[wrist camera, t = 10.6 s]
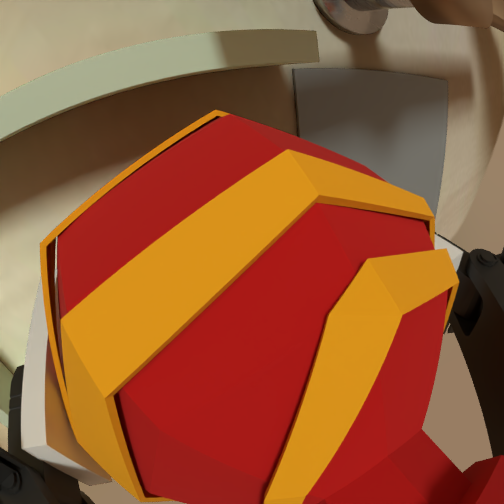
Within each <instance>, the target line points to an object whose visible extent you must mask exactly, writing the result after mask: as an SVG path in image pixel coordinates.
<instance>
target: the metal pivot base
mask: <svg viewBox="0 0 504 504" xmlns="http://www.w3.org/2000/svg"><path fill="white" fill-rule="evenodd" d="M314 2H315V4H316V6H317V7H318V9H319V10H320V12H321V13H322V14H323V15H324V17H325V18H326V19H327V20H328V21H329V22H330V23H332V24H333V25H334V26H336V27H337V28H339V29H340V30H342V31H344V32H347V33H350V34H357V35H359V34H371V33H374V32H376V31H378V30H379V29H381V28H382V26H383V25H384V23H385V22H386V19H387V15H388V9H391V8H407V7H414V6H413V5H412V3H411V2H410V0H314Z"/></svg>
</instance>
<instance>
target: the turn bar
mask: <svg viewBox="0 0 504 504" xmlns="http://www.w3.org/2000/svg"><path fill="white" fill-rule="evenodd" d="M410 2H411V3H412V5H413V6H414V7H415V9H416V10H417V11H418V12H419V13H420V14H421V15H422V16H423V17H424V18H425V19H426V20H428V21H430V22H432V23H435V24H451V25H463V26H472V27H480V28H489V27H490V26H493V27H495V28H497V29H499V30H501V31H503V32H504V0H410Z"/></svg>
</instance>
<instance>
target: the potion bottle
mask: <svg viewBox="0 0 504 504" xmlns="http://www.w3.org/2000/svg"><path fill="white" fill-rule="evenodd" d="M57 236H58V240H57V285H58V305H59V318H60V329H61V340H62V353H63V363H64V372H65V379H66V387H67V391H66V387H65V383H64V379H63V373H62V366H61V359H60V351H59V343H58V333H57V320H56V303H55V244H56V237H57ZM40 262H41V278H42V290H43V300H44V308H45V316H46V323H47V329H48V335H49V341H50V346H51V351H52V356H53V361H54V365H55V370H56V374H57V378H58V382H59V386H60V390H61V395H62V399H63V404H64V407H65V410H66V413H67V416H68V419H69V422H70V424H71V427H72V430H73V432H74V435H75V437H76V440H77V442H78V443H79V444H80V445H81V446H82V447H83V449H84V450H85V451H86V452H87V453H88V454H89V455H90V456H91V457H92V458H93V459H94V460H95V461H96V462H97V463H98V464H99V465H100V466H101V467H102V468H103V469H104V470H105V471H106V472H107V473H108V474H109V475H110V476H111V477H112V478H113V479H114V480H116V481H117V482H118V483H119V484H120V485H121V486H122V487H123V488H125V489H126V490H127V491H128V492H129V493H130V494H132V495H133V496H134V497H135V498H136V499H138V500H139V501H140V502H159V501H179V502H183V503H187V504H504V456H503V455H500V456H496V457H493V458H490V459H486V460H483V461H478V462H475V463H474V464H473V465H471V466H470V467H469V468H468V469H466V470H465V471H464V472H463V473H462V472H461V471H460V470H459V469H458V468H457V467H456V466H455V465H454V464H453V463H452V461H451V460H450V459H449V458H448V457H447V456H446V455H445V454H444V453H443V452H442V451H441V450H440V449H439V447H438V446H437V445H436V444H435V443H434V442H433V441H432V440H431V439H430V438H429V437H428V435H426V434H425V432H424V431H423V430H422V426H423V423H424V419H425V415H426V412H427V409H428V405H429V401H430V397H431V393H432V389H433V385H434V380H435V375H436V371H437V366H438V361H439V355H440V350H441V343H442V337H443V332H444V329H445V327H446V324H447V321H448V318H449V315H450V312H451V309H452V306H453V302H454V299H455V296H456V292H457V289H458V285H459V279H458V276H457V274H456V271H455V268H454V266H453V263H452V261H451V258H450V256H449V253H448V251H447V248H444V249H437V250H435V217H434V215H433V213H432V211H431V210H430V208H429V206H428V204H427V203H426V201H425V199H424V198H423V197H420V196H418V195H416V194H413V193H411V192H409V191H406V190H404V189H401V188H399V187H397V186H394V185H392V184H390V183H388V182H387V181H385V180H384V179H382V178H381V177H380V176H378V175H377V174H376V173H374V172H373V171H372V170H370V169H369V168H367V167H366V166H365V165H362V164H360V163H358V162H356V161H354V160H352V159H349V158H347V157H345V156H343V155H340V154H338V153H336V152H333V151H331V150H329V149H326V148H324V147H322V146H319V145H317V144H314V143H312V142H309V141H307V140H304V139H302V138H299V137H297V136H294V135H291V134H289V133H286V132H283V131H280V130H278V129H275V128H272V127H269V126H266V125H263V124H260V123H258V122H255V121H252V120H248V119H245V118H242V117H239V116H236V115H233V114H229V113H226V112H222V111H219V110H214V111H212V112H211V113H209V114H207V115H205V116H204V117H202V118H200V119H199V120H197V121H196V122H194V123H192V124H191V125H189V126H188V127H186V128H184V129H183V130H181V131H180V132H178V133H177V134H175V135H174V136H172V137H170V138H169V139H167V140H166V141H164V142H163V143H162V144H160V145H159V146H157V147H156V148H154V149H153V150H151V151H150V152H149V153H147V154H146V155H144V156H143V157H142V158H140V159H139V160H137V161H136V162H135V163H133V164H132V165H131V166H129V167H128V168H127V169H125V170H124V171H123V172H121V173H120V174H119V175H117V176H116V177H115V178H114V179H112V180H111V181H110V182H109V183H107V184H106V185H105V186H104V187H102V188H101V189H100V190H99V191H97V192H96V193H95V194H94V195H93V196H91V197H90V198H89V199H88V200H87V201H86V202H84V203H83V204H82V205H81V206H80V207H78V208H77V209H76V210H75V211H74V212H73V213H72V214H70V215H69V216H68V217H67V218H66V219H65V220H64V221H63V222H62V223H60V224H59V225H58V226H57V227H56V228H55V229H54V230H53V231H52V232H51V233H50V234H49V235H48V236H47V237H46V238H45V239H44V240H43V241H42V242H41V243H40ZM67 393H68V394H67Z"/></svg>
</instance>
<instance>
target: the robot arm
mask: <svg viewBox="0 0 504 504" xmlns="http://www.w3.org/2000/svg"><path fill="white" fill-rule="evenodd" d="M444 248H447V251H448V253H449V256H450V258H451V261H452V263H453V266H454V268H455V271H456V274H457V276H458V279H459V285H458V289H457V292H456V296H455V299H454V302H453V306H452V309H451V312H450V315H449V318H448V321H447V324H446V327H445V329H444V332H443V334H444V333H445V332H446V329H447V327H448V325H449V323H450V326H449V328H448V333H453V332H454V333H455V336H456V338H457V340H458V343H459V345H460V348H461V350H462V353H463V356H464V358H465V361H466V364H467V366H468V369H469V372H470V375H471V378H472V381H473V384H474V387H475V390H476V393H477V396H478V399H479V403H480V406H481V409H482V413H483V416H484V420H485V424H486V428H487V432H488V436H489V440H490V444H491V449H492V454H493V457H496V456H500V455H503V456H504V248H503V251H502V253H501V254H498V255H495V254H493V253H491V252H490V251H486V250H484V249H475V250H472V251H471V252H470V253H468V252H466V251H465V250H463V249H462V248H460V247H459V246H457V245H455V244H454V243H452V242H451V241H449V240H447V239H446V238H444V237H442V236H441V235H439V234H438V235H437V234H436V232H435V250H437V249H444ZM55 303H56V320H57V333H58V343H59V351H60V359H61V366H62V373H63V379H64V383H65V387H66V379H65V372H64V363H63V353H62V340H61V329H60V318H59V305H58V285H57V269H55ZM66 391H67V387H66ZM67 394H68V393H67ZM10 398H11V399H9V409H10V411H9V415H8V452H7V451H5V450H4V449H2V448H1V447H0V504H95V503H94V502H93V501H92V500H91V499H90V498H89V497H88V496H87V495H86V494H85V493H84V492H82V491H80V489H79V484H78V481H80V482H82V483H85V484H87V485H89V486H92V485H97V484H103V483H109V482H112V479H111V476H110V475H109V474H108V473H107V472H106V471H105V470H104V469H103V468H102V467H101V466H100V465H99V464H98V463H97V462H96V461H95V460H94V459H93V458H92V457H91V456H90V455H89V454H88V453H87V452H86V451H85V450H84V449H83V447H82V446H81V445H80V444H79V443H78V442H77V440H76V437H75V435H74V432H73V430H72V427H71V424H70V422H69V419H68V416H67V413H66V410H65V407H64V404H63V399H62V395H61V390H60V386H59V382H58V378H57V374H56V370H55V365H54V361H53V356H52V351H51V346H50V341H49V335H48V329H47V323H46V316H45V308H44V300H43V290H42V278H41V279H40V283H39V287H38V291H37V295H36V300H35V304H34V309H33V314H32V319H31V324H30V329H29V335H28V342H27V348H26V356H25V364H24V365H22V366H19V367H17V369H16V371H15V373H14V376H13V378H12V381H11V387H10Z"/></svg>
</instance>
